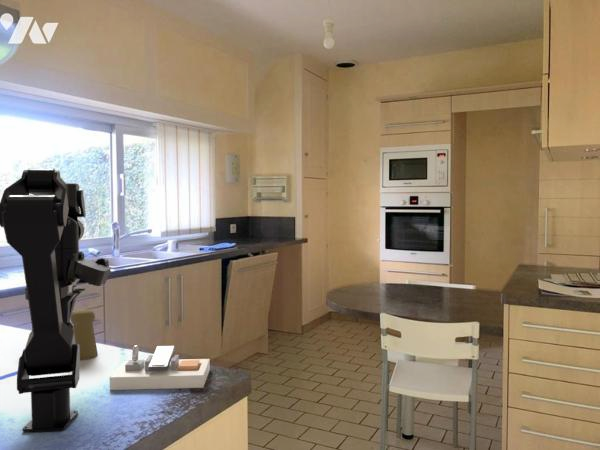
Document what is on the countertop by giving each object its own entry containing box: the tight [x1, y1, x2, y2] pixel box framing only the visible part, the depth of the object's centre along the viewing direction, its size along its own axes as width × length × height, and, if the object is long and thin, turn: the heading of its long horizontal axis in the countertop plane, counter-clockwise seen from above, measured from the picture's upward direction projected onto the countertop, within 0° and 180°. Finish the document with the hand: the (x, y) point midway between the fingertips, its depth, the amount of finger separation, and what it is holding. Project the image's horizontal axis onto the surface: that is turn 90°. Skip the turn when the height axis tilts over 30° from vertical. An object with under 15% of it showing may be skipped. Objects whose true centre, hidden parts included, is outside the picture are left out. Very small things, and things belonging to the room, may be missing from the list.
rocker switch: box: [148, 345, 176, 371], centre depth 101 cm, size 8×4×1 cm, turn 3°
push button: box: [179, 360, 200, 371], centre depth 102 cm, size 4×4×3 cm
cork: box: [70, 308, 99, 361], centre depth 117 cm, size 6×6×11 cm
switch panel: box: [109, 354, 211, 391], centre depth 102 cm, size 10×18×4 cm, turn 93°
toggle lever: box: [131, 344, 140, 361], centre depth 102 cm, size 1×1×3 cm
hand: (64, 327), depth 97 cm, fingers closed
